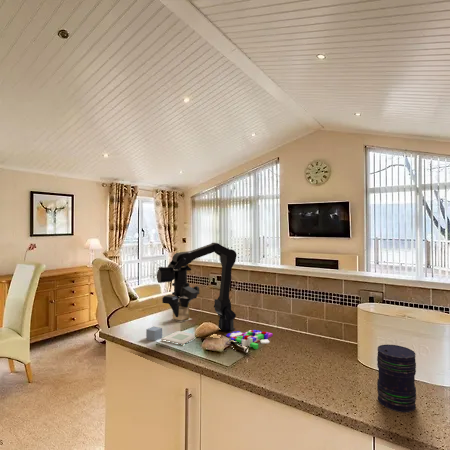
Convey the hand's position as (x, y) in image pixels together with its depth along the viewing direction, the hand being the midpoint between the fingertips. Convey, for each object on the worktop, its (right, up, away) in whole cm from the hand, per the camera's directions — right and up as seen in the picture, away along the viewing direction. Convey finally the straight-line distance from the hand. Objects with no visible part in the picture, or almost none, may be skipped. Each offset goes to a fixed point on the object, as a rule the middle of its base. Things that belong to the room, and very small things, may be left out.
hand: (180, 315), depth 144 cm
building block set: (+29, -11, -1) cm, 32 cm away
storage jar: (+69, -11, -52) cm, 87 cm away
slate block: (-12, -11, +1) cm, 16 cm away
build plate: (0, -11, 0) cm, 11 cm away
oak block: (0, -1, 0) cm, 1 cm away
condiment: (-3, -11, +31) cm, 33 cm away
